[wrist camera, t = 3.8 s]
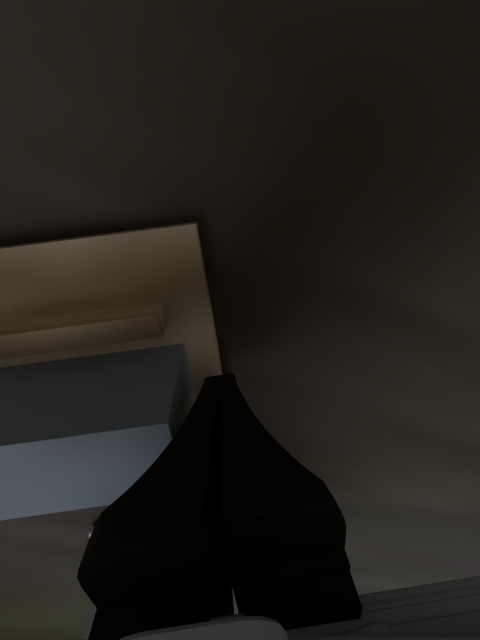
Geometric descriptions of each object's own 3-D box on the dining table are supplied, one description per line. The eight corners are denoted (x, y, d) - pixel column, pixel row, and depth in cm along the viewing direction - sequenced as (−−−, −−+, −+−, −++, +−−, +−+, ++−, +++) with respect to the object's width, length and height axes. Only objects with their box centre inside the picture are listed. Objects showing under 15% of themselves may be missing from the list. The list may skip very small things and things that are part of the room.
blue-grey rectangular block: (196, 400, 15) (188, 493, 10) (5, 426, 15) (-89, 533, 10) (184, 343, 13) (167, 423, 9) (-30, 371, 13) (-160, 468, 9)
